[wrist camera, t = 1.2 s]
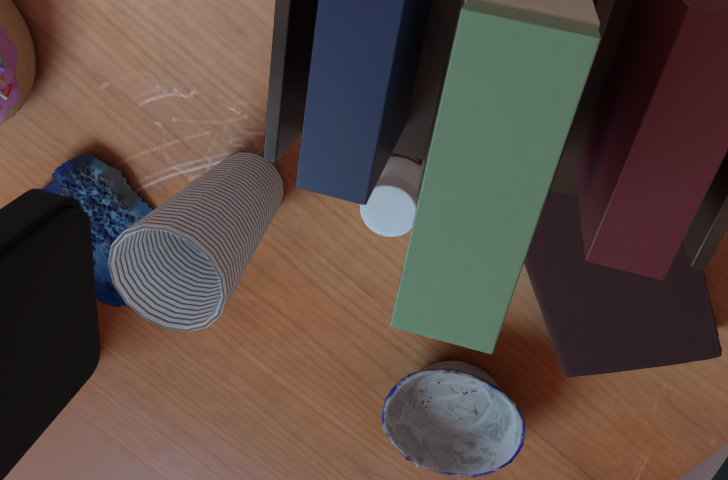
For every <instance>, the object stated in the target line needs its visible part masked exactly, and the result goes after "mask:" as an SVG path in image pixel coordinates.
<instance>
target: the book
mask: <svg viewBox="0 0 728 480" xmlns="http://www.w3.org/2000/svg"><path fill="white" fill-rule="evenodd" d="M524 264H525V267H526V269H527V272H528V275H529V278H530V281H531V284H532V287H533V289H534V292H535V295H536V298H537V301H538V303H539V306H540V309H541V311H542V314H543V317H544V320H545V323H546V326H547V329H548V332H549V335H550V338H551V341H552V343H553V346H554V349H555V352H556V355H557V358H558V361H559V364H560V367H561V370H562V372H563V375H565V376H566V377H576V376H585V375H595V374H604V373H613V372H621V371H629V370H637V369H644V368H652V367H660V366H668V365H675V364H682V363H688V362H693V361H700V360H707V359H712V358H716V357H720V356H721V351H722V349H721V345H720V342H719V338H718V335H719V334H718V331H717V325H716V320H715V317H714V313H713V310H712V306H711V301H710V297H709V293H708V289H707V285H706V280H705V276H704V272H703V269H700V268H696V267H692V266H691V265H690V262H689V259H688V257H687V254H686V251H685V248H684V246H683V243H682V244H681V246H680V248H679V250H678V252H677V254H676V256H675V258H674V260H673V262H672V264H671V266H670V268H669V270H668V272H667V274H666V276H665V278H664V280H660V279H656V278H652V277H648V276H644V275H640V274H636V273H632V272H628V271H624V270H620V269H616V268H612V267H608V266H604V265H600V264H596V263H592V262H588V261H586V260H585V252H584V242H583V233H582V224H581V215H580V205H579V197H576V196H571V195H567V194H563V193H559V192H555V191H551V190H550V192H549V195H548V198H547V201H546V204H545V207H544V210H543V213H542V215H541V218H540V221H539V224H538V227H537V228H536V229H535V232H534V235H533V238H532V241H531V243H530V246H529V249H528V252H527V255H526V258H525V261H524Z"/></svg>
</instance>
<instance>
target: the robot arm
mask: <svg viewBox="0 0 728 480" xmlns="http://www.w3.org/2000/svg"><path fill="white" fill-rule="evenodd" d="M99 358H100V339H99V326H98V313H97V300H96V287H95V274H94V261H93V248H92V236H91V223H90V218H89V216H88V214H87V213H86V212H84V211H82V209H81V205H80V204H79V202H78V201H77V200H76V199H74V198H71V197H68V196H64V195H60V194H56V193H53V192H49V191H45V190H42V189H31V190H29V191H27V192H25V193H24V194H22V195H21V196H19V197H18V198H16V199H15V200H13V201H12V202H10V203H9V204H7V205H6V206H4V207H3V208H1V209H0V480H3V479H4V478H5V476H6V475H7V474H8V473H9V472H10V471H11V469H12V468H13V467H14V466H15V465H16V464H17V462H18V461H19V460H20V459H21V458H22V457H23V455H24V454H25V453H26V452H27V451H28V449H29V448H30V447H31V446H32V445H33V444H34V443H35V441H36V440H37V439H38V438H39V436H41V434H42V433H43V432H44V431H45V429H47V427H48V426H49V425H50V424H51V423H52V421H53V420H54V419H55V418H56V417H57V416H58V414H59V413H60V412H61V411H62V410H63V409H64V407H65V406H66V405H67V404H68V403H69V402H70V400H71V399H72V398H73V397H74V396H75V394H76V393H77V392H78V391H79V390H80V389H81V387H82V386H83V385H84V384H85V383H86V382H87V380H88V379H89V378H90V377H91V375H92V374H93V373H94V371H95V369H96V367H97V365H98V362H99ZM712 480H728V457H727V459H726V460H725V462H724V463H723V464H722V466H721V467H720V469H719V470H718V471H717V473H716V474H715V476H714V477H713V478H712Z"/></svg>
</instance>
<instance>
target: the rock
mask: <svg viewBox="0 0 728 480" xmlns="http://www.w3.org/2000/svg"><path fill="white" fill-rule="evenodd" d="M52 177H53V180H52V181H51V183H50V184H49V185H48V186H46V187H45V188H44V189H42V190H45V191H49V192H53V193H56V194H60V195H64V196H68V197H71V198H74V199H76V200H77V201H78V202H79V204H80V205H81V209H82V211H84V212H86V213H87V214H88V216H89V218H90V223H91V236H92V248H93V261H94V274H95V287H96V299H97V300H99V301H100V302H102V303H105V304H106V305H112V306H115V307H120V306H122V305H123V306H125V305H126V303H125V301H124V300H123V298H122V297H121V295H120V294H119V292H118V291H117V289H116V288H115V286H114V285H113V281H112V278H111V274H110V270H109V266H108V261H109V255H110V250H111V245H112V244H113V243H114V242H115V240H116V239H117V238H118V237H119V236H120V235H121V234H122V233H123V231H125V230H126V229H128V228H129V227H130V226H132V225H133V224H135V223H136V222H137V221H139V220H140V219H142V218H143V217H144V216H146V215H147V214H149V213H150V212H151V211H153V209H152V208H149V207H148V204H147V203H143V202H142V201H141V197H137V193H136V192H134V191H132V190H131V187H130V185H128V184H126V182H127V180H126V178H124V177H121V171H120V170H118V169H115V168H112V167H110V166H108V165H106V164H105V163H103V162H101V161H100V160H98V159H97V158H95V157H94V156H93V155H85V156H83V155H82V154H80V155H79V156H78V157H75V158H72V159H71V160H68V161H67V162H65V163H63V164H62V165H61V166H60V167H57V169H56V170H55V173H53V174H52Z"/></svg>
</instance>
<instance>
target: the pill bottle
mask: <svg viewBox="0 0 728 480" xmlns="http://www.w3.org/2000/svg"><path fill="white" fill-rule="evenodd" d="M423 163H424V160H422V159H418V158H414V157H410V156H406V155H402V154H397V153H393V152H392V154H391V156H390V158H389V160H388V162H387V164H386V166H385V168H384V170H383V172H382V174H381V176H380V178H379V180H378V182H377V184H376V186H375V188H374V190H373V192H372V194H371V196H370V198H369V200H368V202H367V204H366V205H362V204H360V213H361V216H362V219H363V221H364V222H365V224H366V225H367V226H368V227H369V228H370V229H371V230H372V231H374V232H376V233H377V234H380V235H383V236H388V237H396V236H400V235H403V234H405V233H407V232H409V231H410V230H411V229H412V225H413V221H414V217H415V212H416V208H417V203H418V198H416V194H417V190H418V185H419V181H420V176H421V172H422V167H423Z"/></svg>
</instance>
